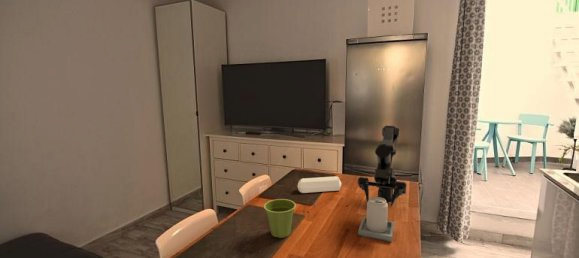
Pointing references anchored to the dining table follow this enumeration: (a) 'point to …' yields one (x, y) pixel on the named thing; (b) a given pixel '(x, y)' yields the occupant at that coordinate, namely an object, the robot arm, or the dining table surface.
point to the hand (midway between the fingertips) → (379, 204)
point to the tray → (380, 236)
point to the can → (377, 214)
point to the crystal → (319, 184)
